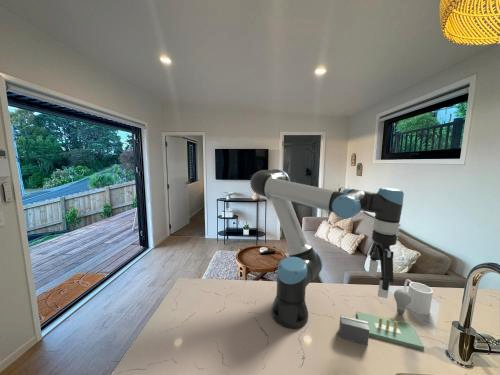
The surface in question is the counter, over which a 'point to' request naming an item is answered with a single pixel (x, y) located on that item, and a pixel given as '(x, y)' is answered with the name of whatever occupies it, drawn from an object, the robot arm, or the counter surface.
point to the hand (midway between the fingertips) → (376, 285)
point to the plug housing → (354, 330)
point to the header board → (391, 330)
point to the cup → (419, 297)
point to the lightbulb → (402, 300)
